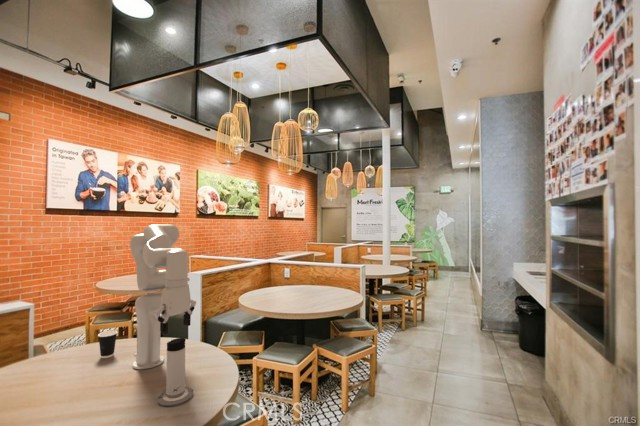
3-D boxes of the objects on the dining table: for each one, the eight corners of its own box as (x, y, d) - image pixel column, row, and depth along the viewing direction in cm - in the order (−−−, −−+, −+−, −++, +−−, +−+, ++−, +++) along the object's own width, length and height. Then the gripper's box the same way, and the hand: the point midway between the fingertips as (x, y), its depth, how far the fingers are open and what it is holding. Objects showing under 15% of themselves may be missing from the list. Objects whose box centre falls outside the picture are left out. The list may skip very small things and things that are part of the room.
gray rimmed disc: (150, 401, 112) (150, 398, 112) (178, 385, 122) (179, 383, 122) (172, 410, 106) (172, 407, 106) (200, 393, 117) (200, 390, 117)
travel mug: (178, 399, 111) (179, 342, 112) (162, 397, 112) (162, 341, 113) (189, 390, 117) (189, 336, 118) (173, 388, 118) (174, 335, 119)
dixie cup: (93, 360, 146) (94, 336, 147) (102, 353, 154) (102, 331, 155) (112, 358, 148) (112, 335, 148) (120, 352, 156) (120, 330, 156)
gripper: (189, 278, 125) (188, 320, 125) (148, 286, 110) (147, 334, 110) (202, 280, 122) (201, 323, 121) (162, 288, 106) (161, 338, 106)
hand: (175, 329), depth 116 cm, fingers open, 9 cm apart
